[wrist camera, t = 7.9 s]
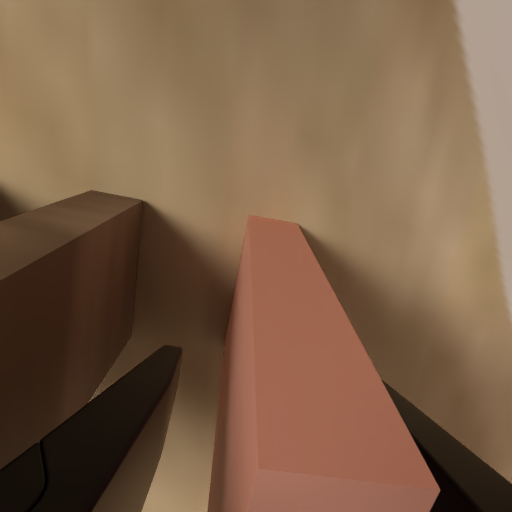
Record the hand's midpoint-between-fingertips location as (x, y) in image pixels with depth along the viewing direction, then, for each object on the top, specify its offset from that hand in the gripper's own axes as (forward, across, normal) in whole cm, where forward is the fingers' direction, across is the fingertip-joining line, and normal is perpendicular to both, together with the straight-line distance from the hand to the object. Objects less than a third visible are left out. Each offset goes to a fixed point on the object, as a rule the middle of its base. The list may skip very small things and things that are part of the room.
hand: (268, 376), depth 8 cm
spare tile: (+4, 0, 0) cm, 5 cm away
